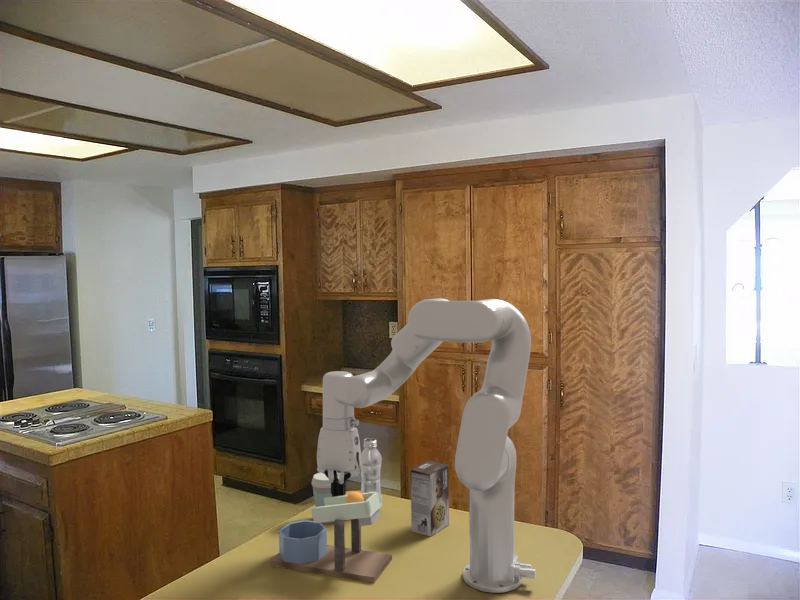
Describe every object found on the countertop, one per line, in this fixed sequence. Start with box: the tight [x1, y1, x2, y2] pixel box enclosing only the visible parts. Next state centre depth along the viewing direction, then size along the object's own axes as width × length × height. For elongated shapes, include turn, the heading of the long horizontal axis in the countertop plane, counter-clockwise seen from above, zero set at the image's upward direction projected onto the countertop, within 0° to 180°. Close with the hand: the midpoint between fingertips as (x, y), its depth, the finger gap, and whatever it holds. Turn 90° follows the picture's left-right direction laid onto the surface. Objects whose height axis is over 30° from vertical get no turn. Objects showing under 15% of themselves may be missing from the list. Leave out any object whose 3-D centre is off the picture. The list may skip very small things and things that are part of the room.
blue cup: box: [278, 519, 328, 564], centre depth 137 cm, size 10×10×6 cm
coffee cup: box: [311, 472, 340, 525], centre depth 159 cm, size 8×8×12 cm
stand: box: [269, 519, 393, 584], centre depth 134 cm, size 26×11×12 cm, turn 71°
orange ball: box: [346, 491, 364, 503], centre depth 132 cm, size 4×4×4 cm
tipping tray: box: [310, 491, 383, 527], centre depth 136 cm, size 14×13×5 cm
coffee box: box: [410, 460, 450, 537], centre depth 153 cm, size 9×6×16 cm
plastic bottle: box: [359, 437, 384, 511], centre depth 165 cm, size 6×7×20 cm
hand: (338, 497), depth 143 cm, fingers closed
